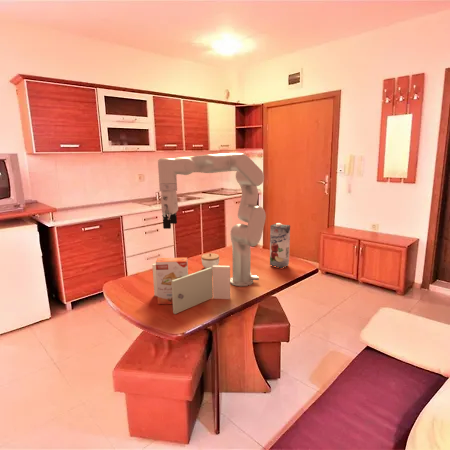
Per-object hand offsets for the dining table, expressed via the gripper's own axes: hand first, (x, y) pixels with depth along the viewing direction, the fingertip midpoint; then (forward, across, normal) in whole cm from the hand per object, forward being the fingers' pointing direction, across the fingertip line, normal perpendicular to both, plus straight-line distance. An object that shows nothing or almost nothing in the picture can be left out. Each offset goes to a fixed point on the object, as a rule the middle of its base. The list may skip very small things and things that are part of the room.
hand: (170, 225), depth 141 cm
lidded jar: (+37, +44, -10) cm, 58 cm away
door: (+36, -5, -11) cm, 38 cm away
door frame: (+36, +5, -7) cm, 37 cm away
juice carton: (+37, +51, -51) cm, 81 cm away
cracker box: (+36, -1, 0) cm, 37 cm away
